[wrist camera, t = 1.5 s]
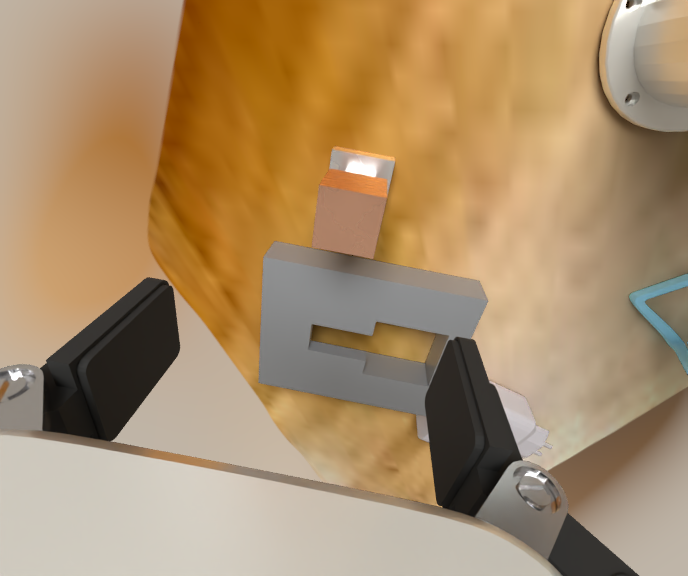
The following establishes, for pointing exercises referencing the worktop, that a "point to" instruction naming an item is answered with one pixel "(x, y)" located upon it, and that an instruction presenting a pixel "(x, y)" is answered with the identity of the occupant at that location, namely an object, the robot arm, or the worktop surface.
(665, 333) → the chair
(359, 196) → the peg
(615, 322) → the worktop surface
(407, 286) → the keyhole plate
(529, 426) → the charger
